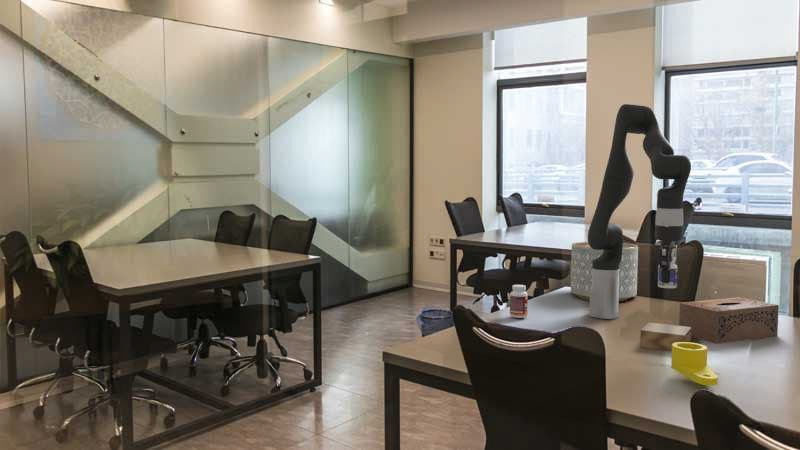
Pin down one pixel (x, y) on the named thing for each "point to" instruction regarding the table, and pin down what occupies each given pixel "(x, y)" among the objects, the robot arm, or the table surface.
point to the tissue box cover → (729, 319)
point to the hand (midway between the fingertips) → (667, 281)
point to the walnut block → (663, 336)
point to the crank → (693, 362)
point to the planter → (583, 270)
